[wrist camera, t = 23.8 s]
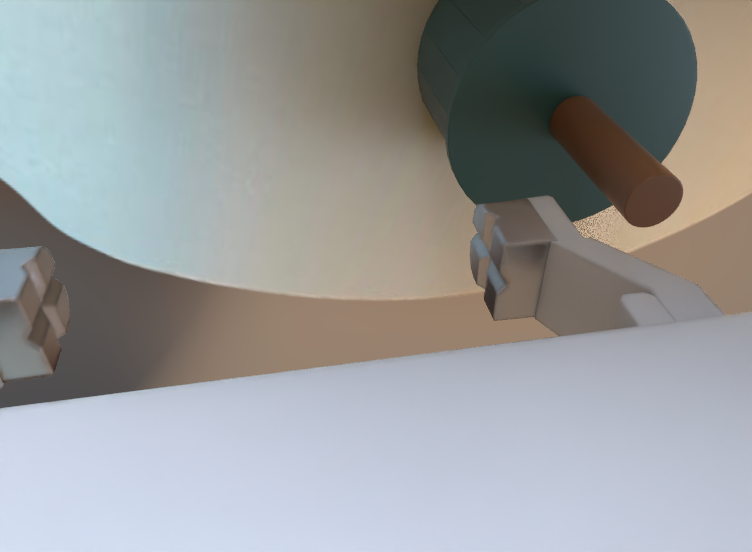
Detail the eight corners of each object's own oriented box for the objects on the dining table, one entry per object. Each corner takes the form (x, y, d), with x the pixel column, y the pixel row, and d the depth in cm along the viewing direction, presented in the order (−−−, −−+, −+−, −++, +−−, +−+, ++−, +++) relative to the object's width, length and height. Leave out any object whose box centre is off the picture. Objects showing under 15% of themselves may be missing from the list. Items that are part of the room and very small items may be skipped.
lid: (451, -18, 31) (523, 52, 23) (721, -32, 33) (872, 28, 25) (435, 227, 40) (483, 337, 32) (648, 205, 42) (742, 304, 34)
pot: (419, -48, 38) (462, -6, 31) (631, -58, 40) (719, -20, 33) (412, 154, 47) (445, 224, 40) (587, 138, 49) (650, 203, 41)
